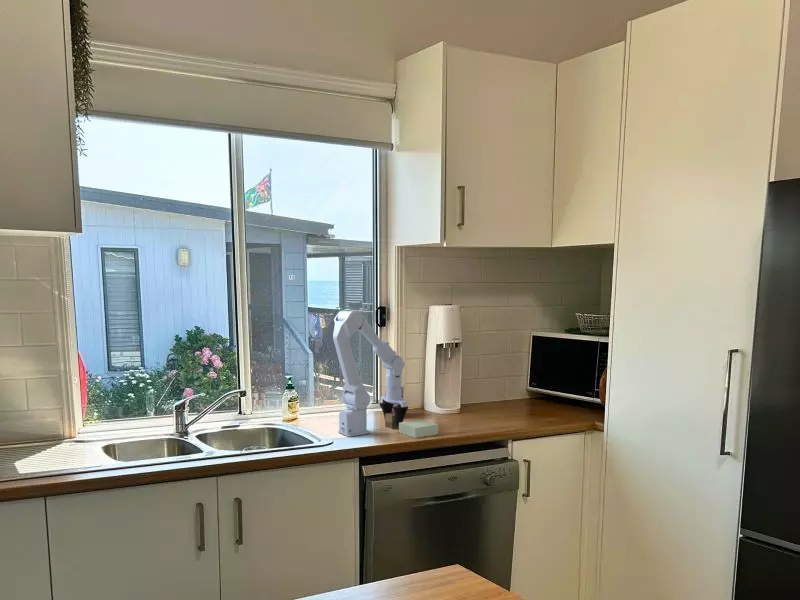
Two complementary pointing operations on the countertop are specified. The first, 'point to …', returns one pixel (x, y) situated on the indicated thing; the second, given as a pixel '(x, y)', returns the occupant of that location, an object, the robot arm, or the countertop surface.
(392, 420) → the walnut block
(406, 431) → the base block
